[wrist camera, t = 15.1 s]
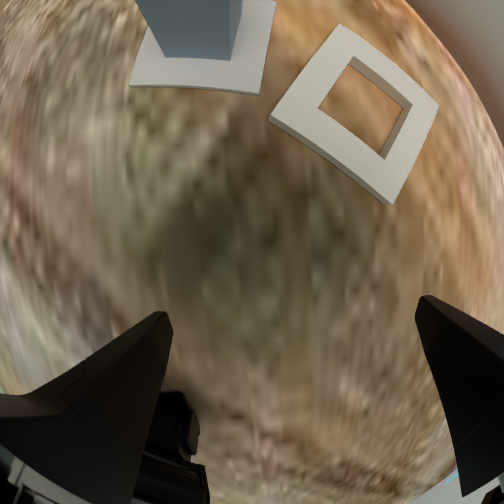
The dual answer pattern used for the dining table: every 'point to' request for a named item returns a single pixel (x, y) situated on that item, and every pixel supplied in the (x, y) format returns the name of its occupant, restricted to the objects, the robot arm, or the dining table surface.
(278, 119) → the pocket holder
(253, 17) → the grey mat
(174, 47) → the slate-blue block
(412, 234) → the dining table surface
